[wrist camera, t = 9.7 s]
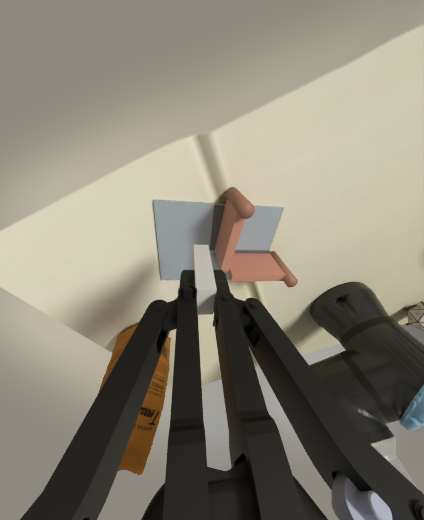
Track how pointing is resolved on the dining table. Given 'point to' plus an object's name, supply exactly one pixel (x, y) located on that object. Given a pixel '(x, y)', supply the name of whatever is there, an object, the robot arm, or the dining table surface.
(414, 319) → the game die
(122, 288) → the dining table surface
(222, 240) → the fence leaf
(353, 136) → the dining table surface
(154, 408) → the coffee package
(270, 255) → the panel
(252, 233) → the card
